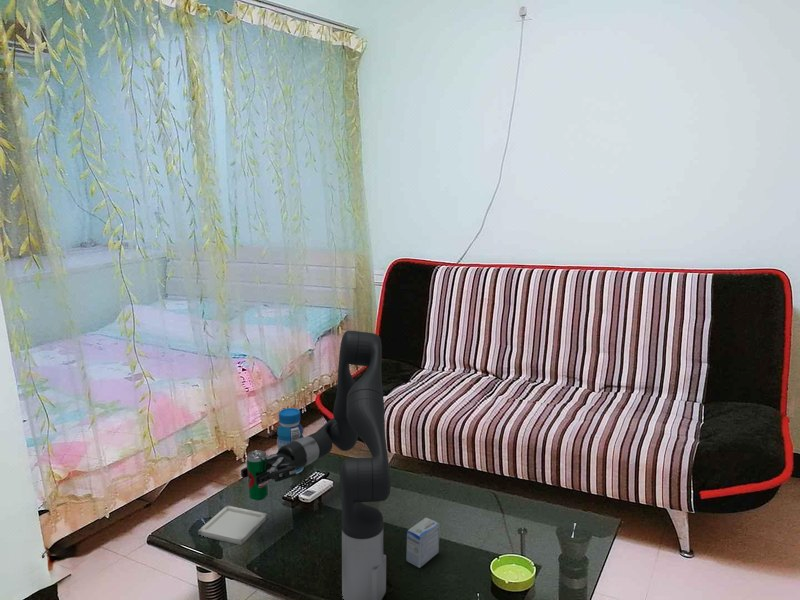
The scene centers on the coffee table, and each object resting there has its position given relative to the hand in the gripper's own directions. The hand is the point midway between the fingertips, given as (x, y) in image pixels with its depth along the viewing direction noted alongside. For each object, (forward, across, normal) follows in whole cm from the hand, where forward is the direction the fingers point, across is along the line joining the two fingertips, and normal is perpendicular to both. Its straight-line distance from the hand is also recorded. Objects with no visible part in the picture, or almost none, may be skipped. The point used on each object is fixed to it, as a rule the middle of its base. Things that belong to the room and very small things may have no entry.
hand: (248, 477), depth 153 cm
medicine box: (-22, +39, +18) cm, 48 cm away
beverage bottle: (-32, -21, +18) cm, 42 cm away
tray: (0, -8, +18) cm, 20 cm away
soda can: (-3, 0, +7) cm, 7 cm away
